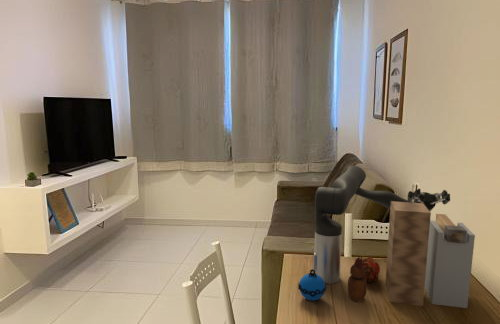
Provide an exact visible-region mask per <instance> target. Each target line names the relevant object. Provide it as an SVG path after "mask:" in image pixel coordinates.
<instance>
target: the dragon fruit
mask: <svg viewBox="0 0 500 324" xmlns="http://www.w3.org/2000/svg"><path fill="white" fill-rule="evenodd" d="M362 266H364V268H365V276H364V278H365V280H366V283H370V282H372V281H377V280H379V274H380V273H381V267H380V265H379V263H378V262H375V260H374V259H373V258H372V257H370V256H369V257H367V258H362Z"/></svg>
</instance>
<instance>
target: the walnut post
mask: <svg viewBox="0 0 500 324" xmlns="http://www.w3.org/2000/svg"><path fill="white" fill-rule="evenodd" d="M431 214H432V213H431V211H429V210H428V209H427V207H426V206H425V205H424V204H423V203H410V202H394V201H391V206H390V209H389V222H388V223H389V225H388V238H387V239H388V240H387V251H386V252H387V255H386V267H385V268H386V269H385V284H384V285H385V290H386V295H387V299H388V302H390V303H396V304H405V305H413V306H422V307H423V306H424V299H425V298H424V297H425V276H426V264H427V252H428V240H429V229H430V221H431Z"/></svg>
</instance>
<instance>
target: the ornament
mask: <svg viewBox="0 0 500 324" xmlns="http://www.w3.org/2000/svg"><path fill="white" fill-rule="evenodd" d="M313 272H314V273H313ZM326 286H327V285H326V283H325V282H324V280H323V279H322V278H321V277H320V276H319V275H317V274H315V270H313V268H312V269H310V270H309V273H306V274H305V275H303V276H302V277H301V278H300V280H299V282H298V287H297V289H298V290H299V293H300V294H301V295H302V298H303V297H304V298H305V300H308V301H317V300H320V299H321V298H322V297H323V296H324V295H325V292H326V290H327V287H326Z"/></svg>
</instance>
